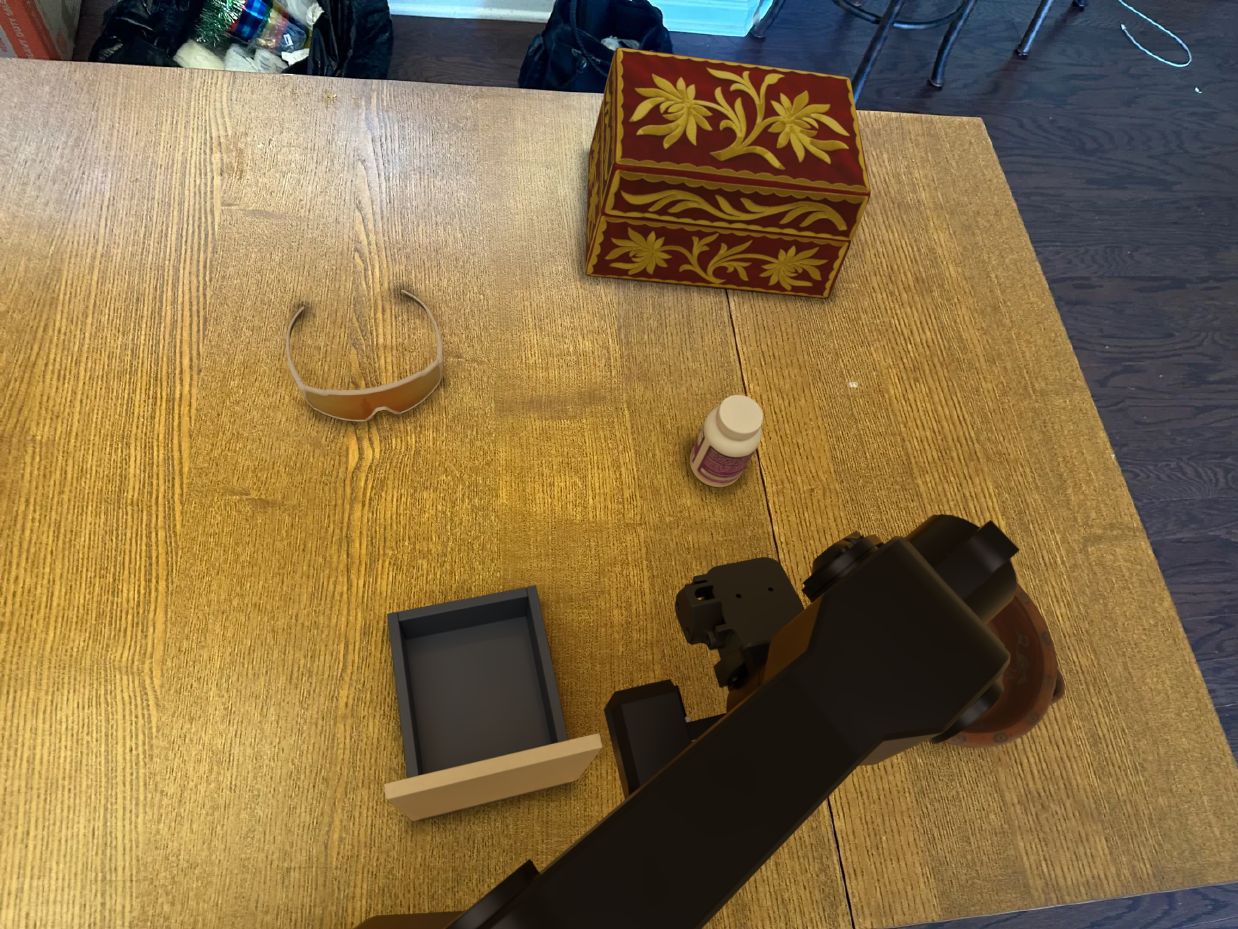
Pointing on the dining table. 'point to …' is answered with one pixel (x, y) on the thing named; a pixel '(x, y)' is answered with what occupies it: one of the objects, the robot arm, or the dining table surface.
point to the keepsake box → (474, 681)
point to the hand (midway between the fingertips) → (732, 736)
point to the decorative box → (723, 175)
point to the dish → (1018, 677)
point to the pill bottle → (727, 441)
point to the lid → (492, 778)
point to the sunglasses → (374, 399)
